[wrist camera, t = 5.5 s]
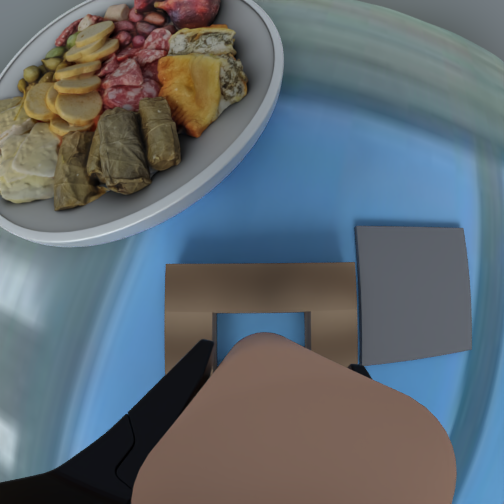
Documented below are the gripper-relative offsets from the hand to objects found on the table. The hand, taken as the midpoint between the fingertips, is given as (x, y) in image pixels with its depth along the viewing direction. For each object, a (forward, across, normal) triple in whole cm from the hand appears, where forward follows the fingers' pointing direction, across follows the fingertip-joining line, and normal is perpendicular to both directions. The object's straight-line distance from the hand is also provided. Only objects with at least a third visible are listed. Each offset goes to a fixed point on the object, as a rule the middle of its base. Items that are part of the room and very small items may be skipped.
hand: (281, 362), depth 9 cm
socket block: (+8, 0, +10) cm, 13 cm away
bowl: (+22, +17, -3) cm, 28 cm away
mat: (+12, -11, +5) cm, 18 cm away
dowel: (+4, 0, +6) cm, 7 cm away
